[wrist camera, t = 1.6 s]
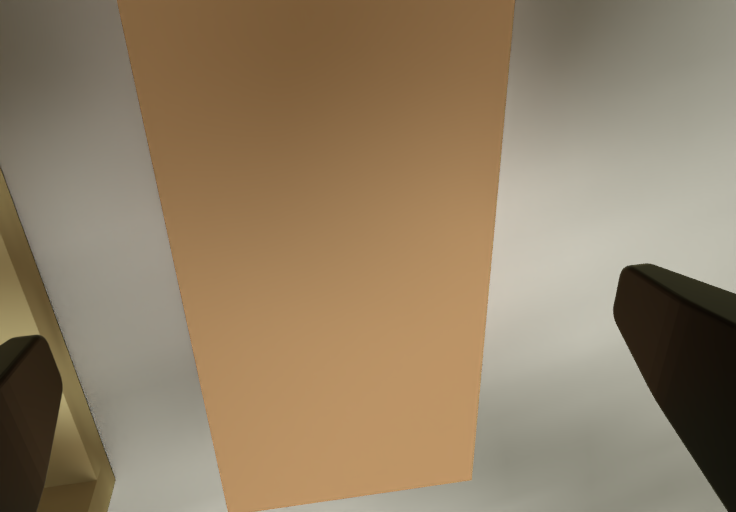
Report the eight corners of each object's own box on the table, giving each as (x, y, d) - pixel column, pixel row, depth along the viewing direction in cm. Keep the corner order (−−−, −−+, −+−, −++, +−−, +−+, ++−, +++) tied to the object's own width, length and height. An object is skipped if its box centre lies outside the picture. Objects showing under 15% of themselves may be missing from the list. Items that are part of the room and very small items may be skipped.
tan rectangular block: (433, 374, 18) (471, 480, 15) (235, 398, 18) (228, 515, 14) (454, -186, 11) (536, -228, 8) (129, -183, 11) (67, -229, 7)
